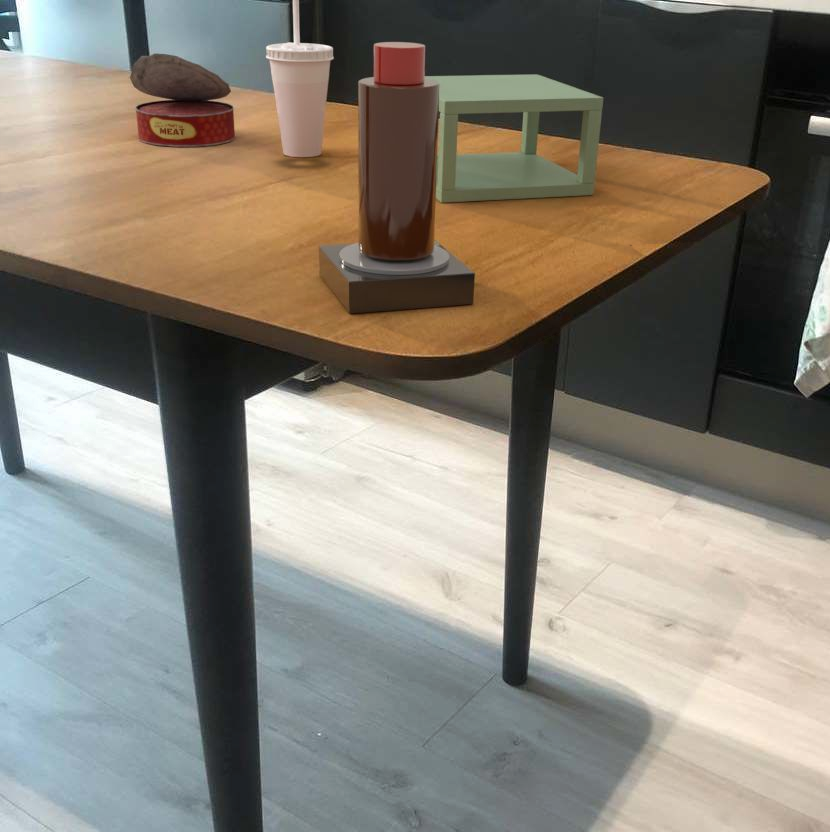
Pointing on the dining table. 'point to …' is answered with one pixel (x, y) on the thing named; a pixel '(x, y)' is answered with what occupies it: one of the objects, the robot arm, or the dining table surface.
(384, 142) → the spice bottle
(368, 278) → the stove
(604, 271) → the dining table surface
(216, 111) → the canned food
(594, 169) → the stand
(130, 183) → the dining table surface
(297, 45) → the smoothie
